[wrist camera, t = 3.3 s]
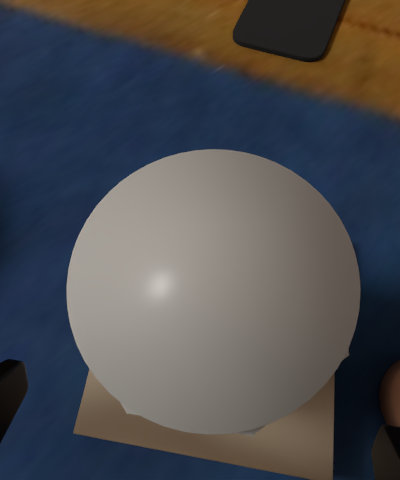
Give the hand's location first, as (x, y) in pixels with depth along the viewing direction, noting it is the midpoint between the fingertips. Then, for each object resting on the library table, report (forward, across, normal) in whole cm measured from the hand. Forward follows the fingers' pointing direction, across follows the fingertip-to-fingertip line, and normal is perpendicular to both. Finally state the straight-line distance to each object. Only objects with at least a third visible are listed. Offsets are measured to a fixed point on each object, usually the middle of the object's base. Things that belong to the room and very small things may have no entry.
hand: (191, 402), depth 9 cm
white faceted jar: (+9, 0, +4) cm, 10 cm away
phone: (+30, -3, -14) cm, 34 cm away
